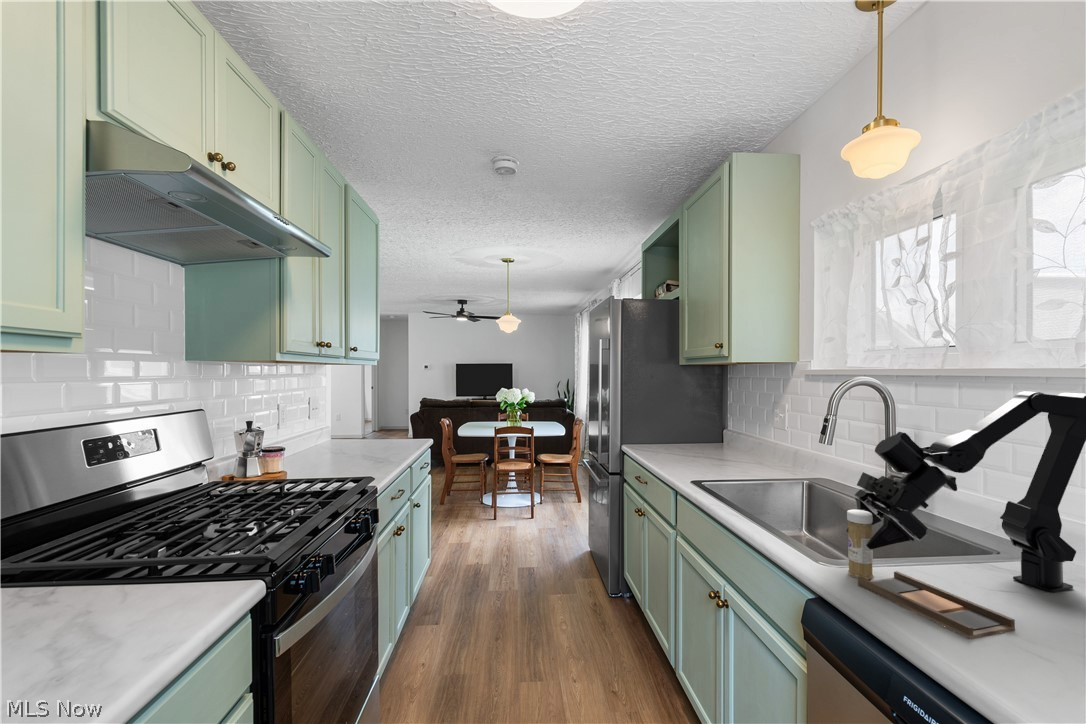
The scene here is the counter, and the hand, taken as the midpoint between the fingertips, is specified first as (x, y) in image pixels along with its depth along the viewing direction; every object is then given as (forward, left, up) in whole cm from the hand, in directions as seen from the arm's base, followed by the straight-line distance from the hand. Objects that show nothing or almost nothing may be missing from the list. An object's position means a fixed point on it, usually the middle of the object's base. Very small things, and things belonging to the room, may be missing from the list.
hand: (857, 539), depth 107 cm
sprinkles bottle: (0, 0, -8) cm, 8 cm away
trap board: (-1, +14, -7) cm, 16 cm away
